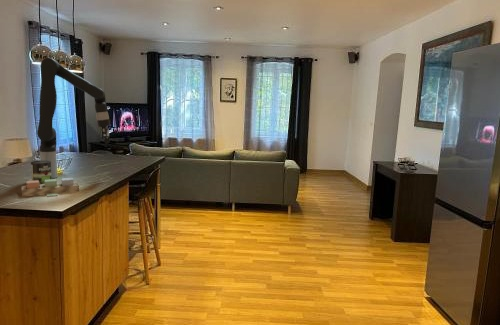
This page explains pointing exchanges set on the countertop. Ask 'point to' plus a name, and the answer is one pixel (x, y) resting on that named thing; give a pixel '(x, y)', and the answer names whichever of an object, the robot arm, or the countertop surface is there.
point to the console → (49, 189)
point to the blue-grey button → (67, 181)
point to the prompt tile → (52, 194)
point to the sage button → (50, 183)
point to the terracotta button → (32, 184)
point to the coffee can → (41, 171)
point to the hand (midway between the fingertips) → (107, 143)
